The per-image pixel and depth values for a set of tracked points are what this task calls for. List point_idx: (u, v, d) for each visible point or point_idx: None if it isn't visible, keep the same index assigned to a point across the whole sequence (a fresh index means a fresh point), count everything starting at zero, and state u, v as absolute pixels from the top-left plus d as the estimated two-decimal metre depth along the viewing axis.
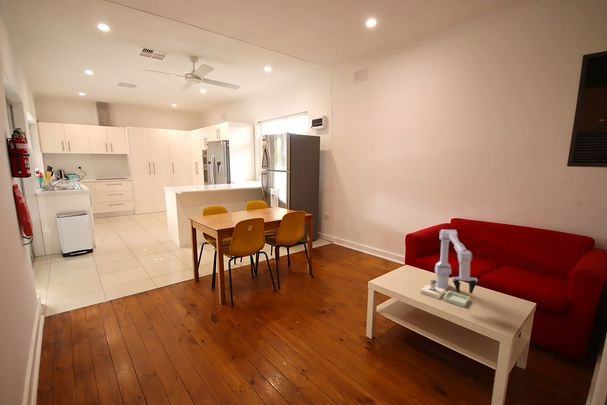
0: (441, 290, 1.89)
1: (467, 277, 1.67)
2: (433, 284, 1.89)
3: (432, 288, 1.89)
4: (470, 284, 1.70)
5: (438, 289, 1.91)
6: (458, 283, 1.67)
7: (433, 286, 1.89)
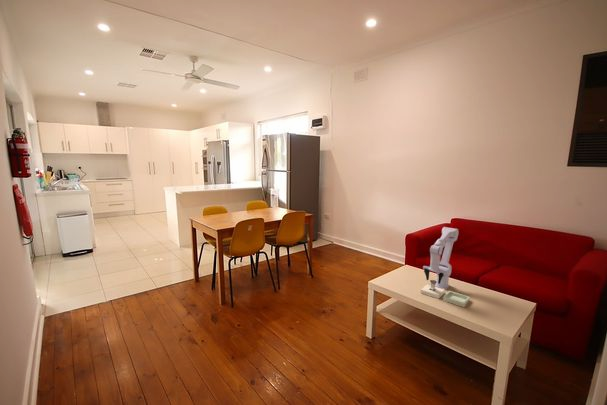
0: (441, 290, 1.89)
1: (433, 268, 1.86)
2: (433, 284, 1.89)
3: (432, 288, 1.89)
4: None
5: (438, 289, 1.91)
6: (425, 272, 1.91)
7: (433, 286, 1.89)
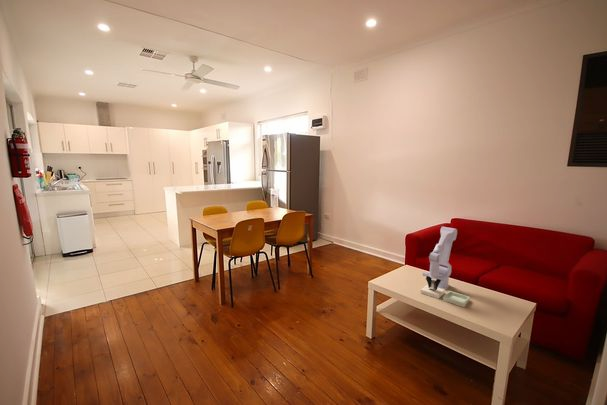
0: (441, 290, 1.89)
1: (433, 275, 1.87)
2: (433, 284, 1.89)
3: (432, 288, 1.89)
4: None
5: (438, 289, 1.91)
6: (427, 279, 1.90)
7: (433, 286, 1.89)
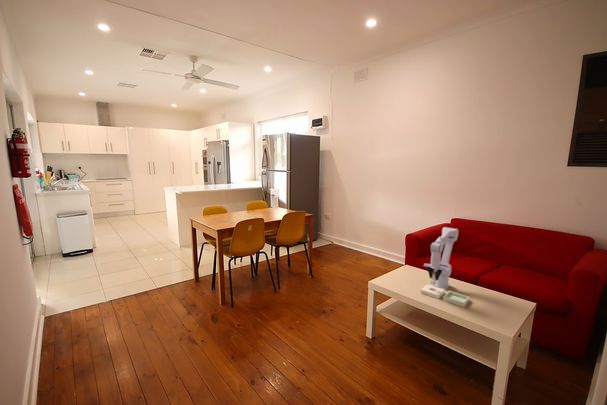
0: (441, 290, 1.89)
1: (434, 266, 1.86)
2: (434, 275, 1.88)
3: (433, 279, 1.88)
4: None
5: (438, 289, 1.91)
6: (428, 270, 1.89)
7: (434, 277, 1.88)
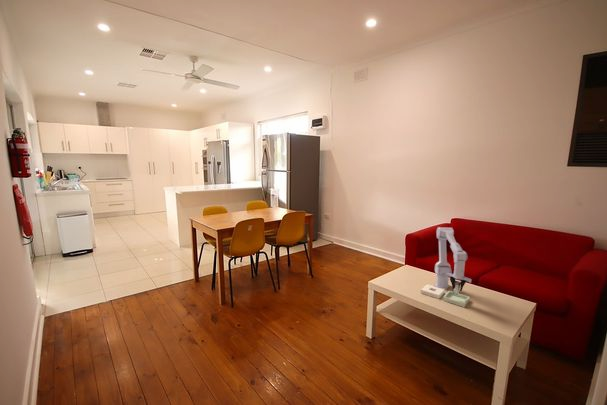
0: (441, 290, 1.89)
1: (457, 276, 1.76)
2: (457, 285, 1.78)
3: (456, 289, 1.79)
4: None
5: (438, 289, 1.91)
6: (451, 280, 1.79)
7: (457, 287, 1.78)
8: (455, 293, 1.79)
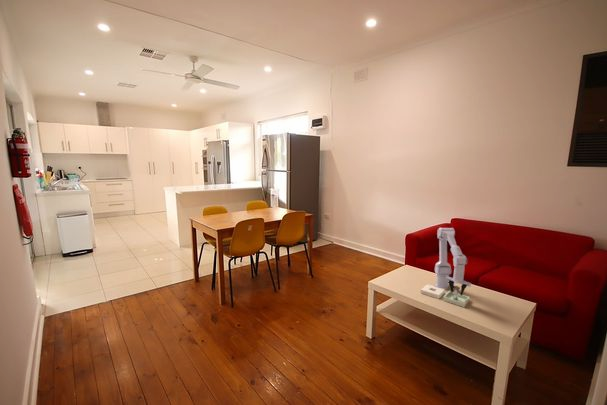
0: (441, 290, 1.89)
1: (457, 280, 1.77)
2: (456, 290, 1.79)
3: (455, 294, 1.80)
4: None
5: (438, 289, 1.91)
6: (450, 283, 1.80)
7: (456, 292, 1.79)
8: (454, 298, 1.80)
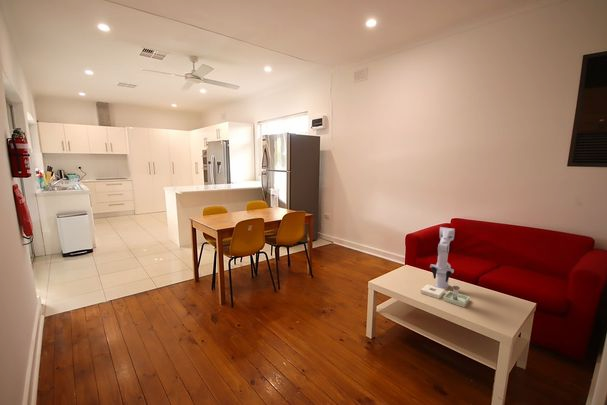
0: (441, 290, 1.89)
1: (441, 266, 1.84)
2: (456, 290, 1.79)
3: (455, 294, 1.80)
4: None
5: (438, 289, 1.91)
6: (432, 270, 1.89)
7: (456, 292, 1.79)
8: (454, 298, 1.80)
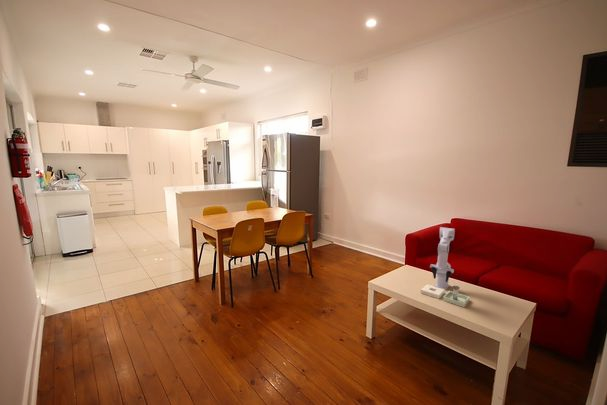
0: (441, 290, 1.89)
1: (441, 266, 1.84)
2: (456, 290, 1.79)
3: (455, 294, 1.80)
4: None
5: (438, 289, 1.91)
6: (432, 270, 1.89)
7: (456, 292, 1.79)
8: (454, 298, 1.80)
